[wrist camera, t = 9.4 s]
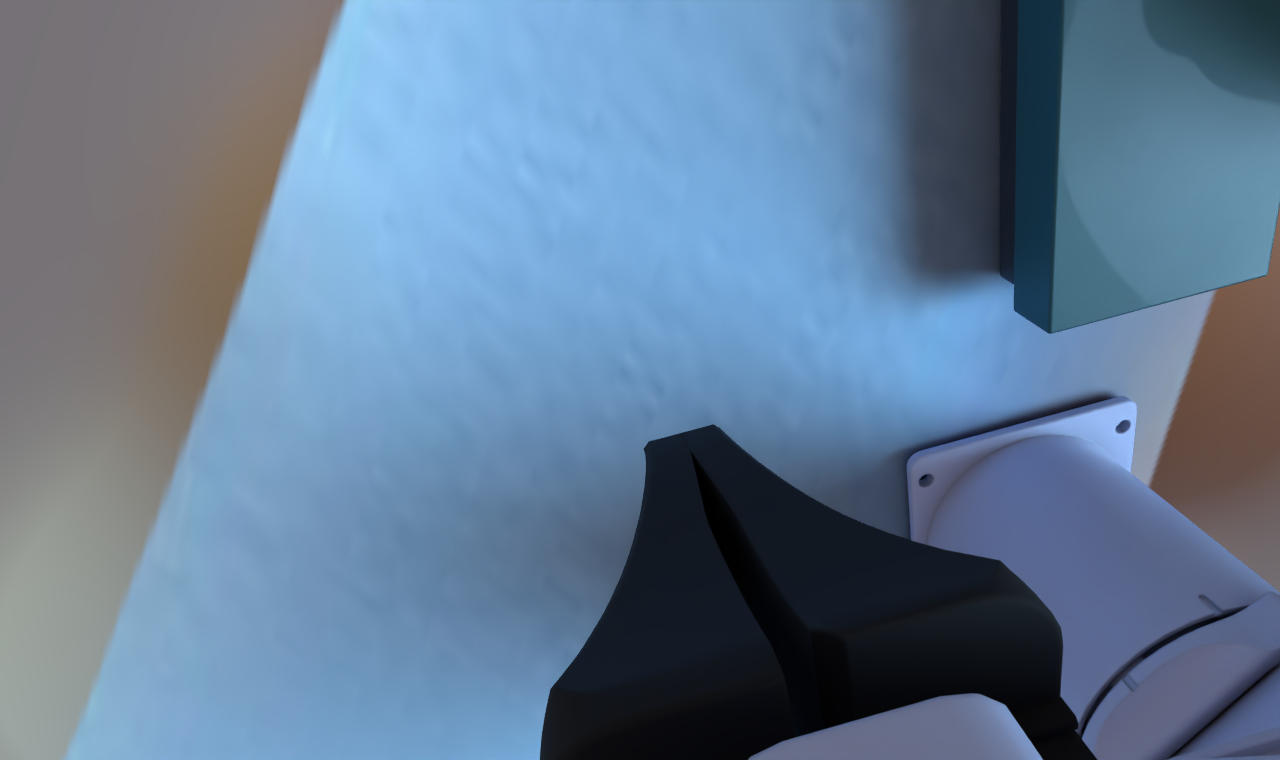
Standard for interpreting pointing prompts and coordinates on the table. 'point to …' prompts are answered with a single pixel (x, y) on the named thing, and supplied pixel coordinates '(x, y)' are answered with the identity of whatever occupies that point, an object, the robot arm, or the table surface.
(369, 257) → the table surface
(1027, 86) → the teal flat panel
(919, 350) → the table surface
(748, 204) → the table surface
